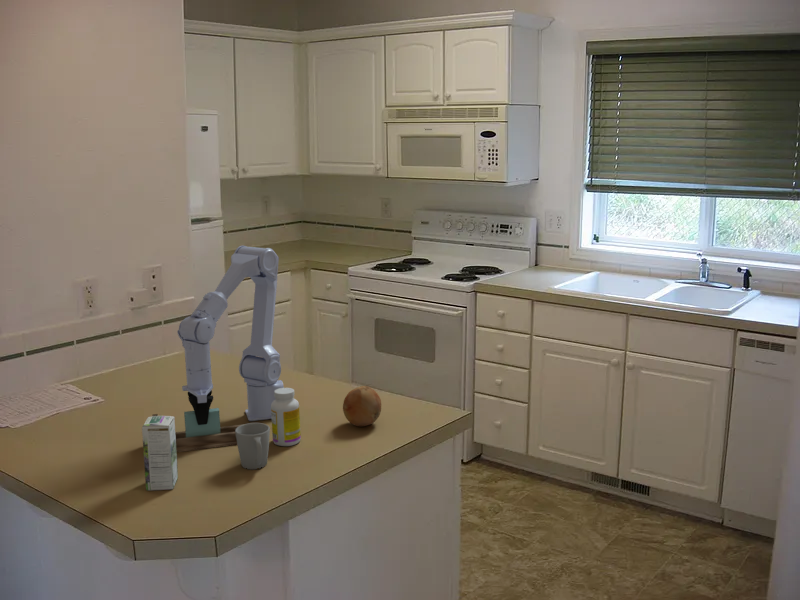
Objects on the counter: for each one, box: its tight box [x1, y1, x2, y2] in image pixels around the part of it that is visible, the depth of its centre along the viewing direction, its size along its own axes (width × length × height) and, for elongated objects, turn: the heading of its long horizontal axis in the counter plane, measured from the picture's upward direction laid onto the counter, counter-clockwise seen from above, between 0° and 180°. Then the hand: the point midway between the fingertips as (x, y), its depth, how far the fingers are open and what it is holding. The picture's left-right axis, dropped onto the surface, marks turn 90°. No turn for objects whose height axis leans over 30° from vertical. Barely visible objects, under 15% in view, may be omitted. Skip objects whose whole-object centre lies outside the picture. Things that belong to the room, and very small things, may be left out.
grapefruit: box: [342, 385, 382, 428], centre depth 210 cm, size 10×10×10 cm
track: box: [151, 413, 244, 453], centre depth 200 cm, size 21×8×7 cm, turn 107°
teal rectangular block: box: [183, 407, 221, 437], centre depth 200 cm, size 8×2×6 cm, turn 107°
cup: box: [235, 422, 271, 470], centre depth 186 cm, size 8×10×8 cm
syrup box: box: [141, 415, 179, 491], centre depth 177 cm, size 6×6×14 cm
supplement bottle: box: [271, 387, 302, 447], centre depth 199 cm, size 7×7×13 cm
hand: (202, 422), depth 200 cm, fingers closed on teal rectangular block, 2 cm apart
